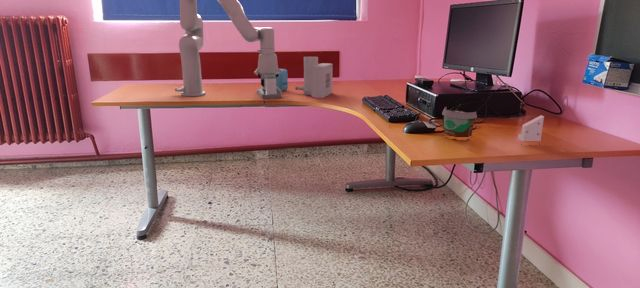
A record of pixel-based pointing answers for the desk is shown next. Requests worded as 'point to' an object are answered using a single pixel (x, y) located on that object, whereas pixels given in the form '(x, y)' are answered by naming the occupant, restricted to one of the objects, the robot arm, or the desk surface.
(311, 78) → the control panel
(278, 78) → the data package
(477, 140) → the desk surface
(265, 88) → the block
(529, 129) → the white angled block
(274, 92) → the rail
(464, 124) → the food container
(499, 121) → the desk surface
